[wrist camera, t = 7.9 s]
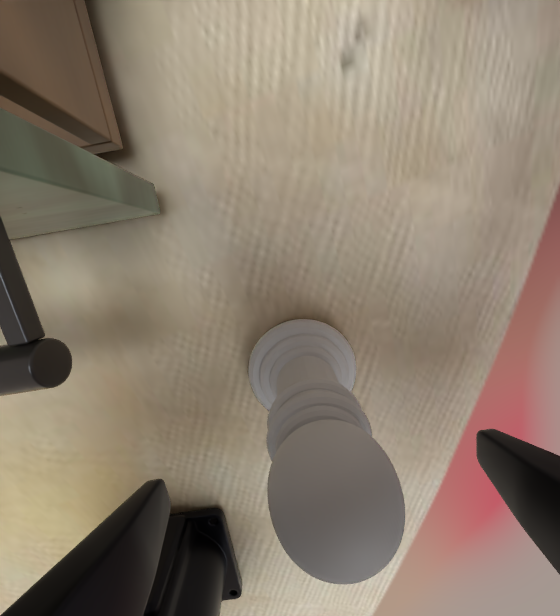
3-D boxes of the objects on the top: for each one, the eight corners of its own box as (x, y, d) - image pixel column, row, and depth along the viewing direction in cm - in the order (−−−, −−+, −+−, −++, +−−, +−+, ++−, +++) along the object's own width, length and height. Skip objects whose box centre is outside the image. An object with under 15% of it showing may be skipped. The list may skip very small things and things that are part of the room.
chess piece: (335, 301, 13) (450, 408, 5) (365, 394, 15) (501, 622, 6) (233, 336, 14) (158, 500, 5) (270, 425, 15) (262, 685, 6)
